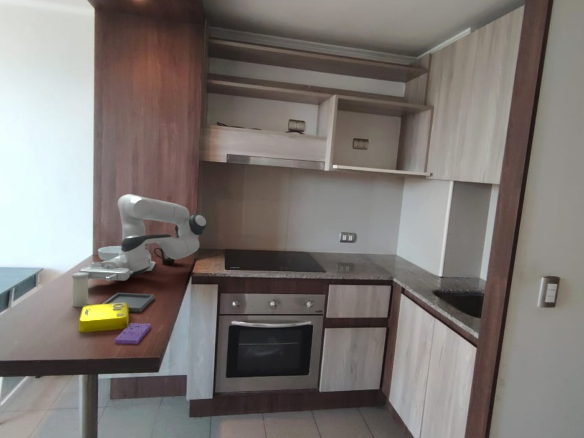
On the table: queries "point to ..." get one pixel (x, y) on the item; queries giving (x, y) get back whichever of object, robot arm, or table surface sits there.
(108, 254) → the cereal bowl
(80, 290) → the tin
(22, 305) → the table surface
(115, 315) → the element tile
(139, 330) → the sponges
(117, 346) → the table surface
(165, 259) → the coffee mug
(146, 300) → the tray
